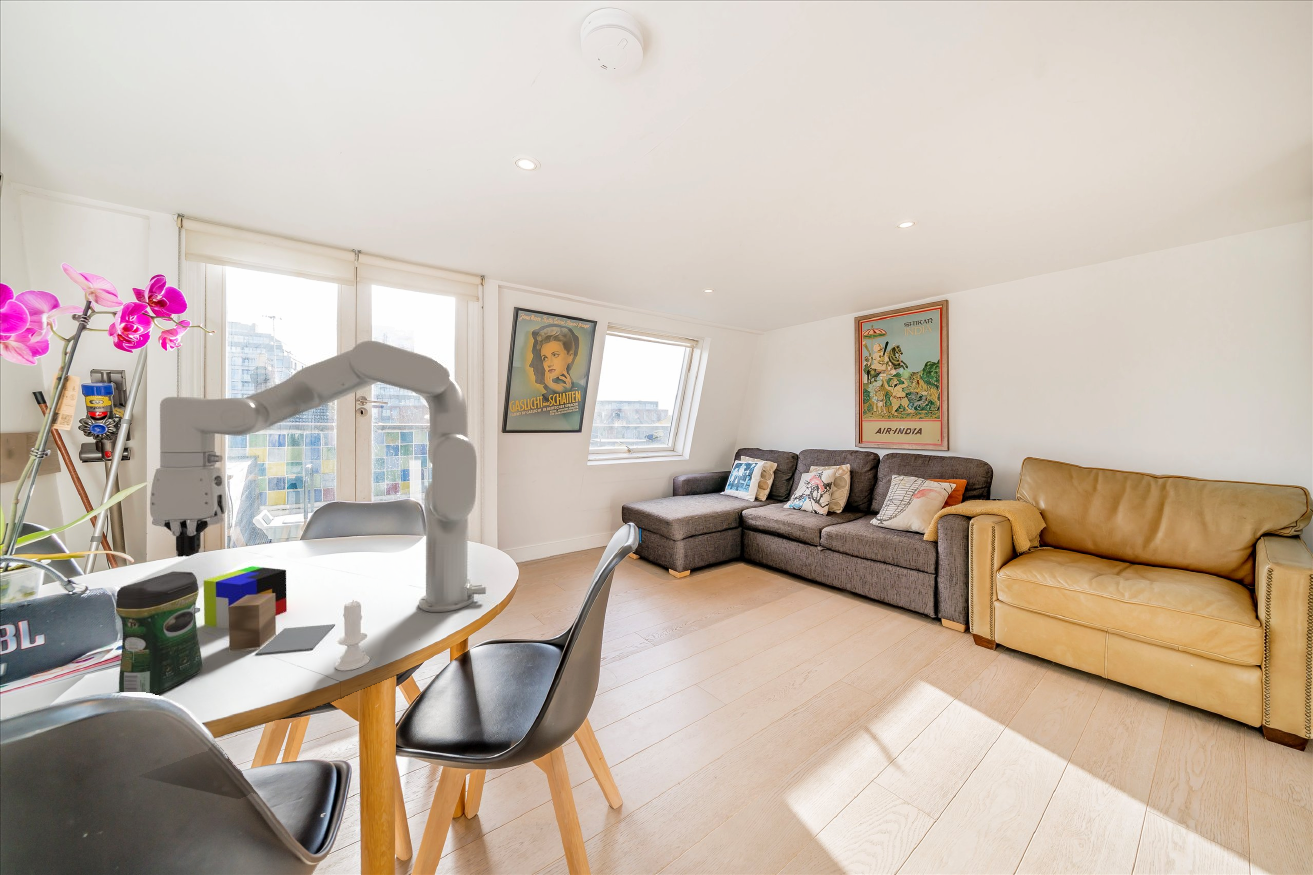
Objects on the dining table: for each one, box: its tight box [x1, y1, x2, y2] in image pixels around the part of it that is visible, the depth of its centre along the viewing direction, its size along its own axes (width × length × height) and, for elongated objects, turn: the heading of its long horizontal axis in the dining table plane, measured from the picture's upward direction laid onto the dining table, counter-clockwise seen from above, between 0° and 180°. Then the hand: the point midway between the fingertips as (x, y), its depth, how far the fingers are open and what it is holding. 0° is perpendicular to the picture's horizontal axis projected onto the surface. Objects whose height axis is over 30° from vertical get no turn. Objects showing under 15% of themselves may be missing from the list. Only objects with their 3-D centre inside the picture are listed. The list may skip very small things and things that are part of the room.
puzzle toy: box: [203, 566, 288, 629], centre depth 106 cm, size 10×10×10 cm
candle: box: [335, 599, 370, 672], centre depth 88 cm, size 5×5×12 cm
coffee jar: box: [115, 570, 203, 695], centre depth 80 cm, size 10×8×19 cm
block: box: [228, 593, 277, 653], centre depth 94 cm, size 5×6×9 cm
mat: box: [255, 623, 336, 656], centre depth 97 cm, size 10×11×1 cm
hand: (188, 554), depth 91 cm, fingers closed
